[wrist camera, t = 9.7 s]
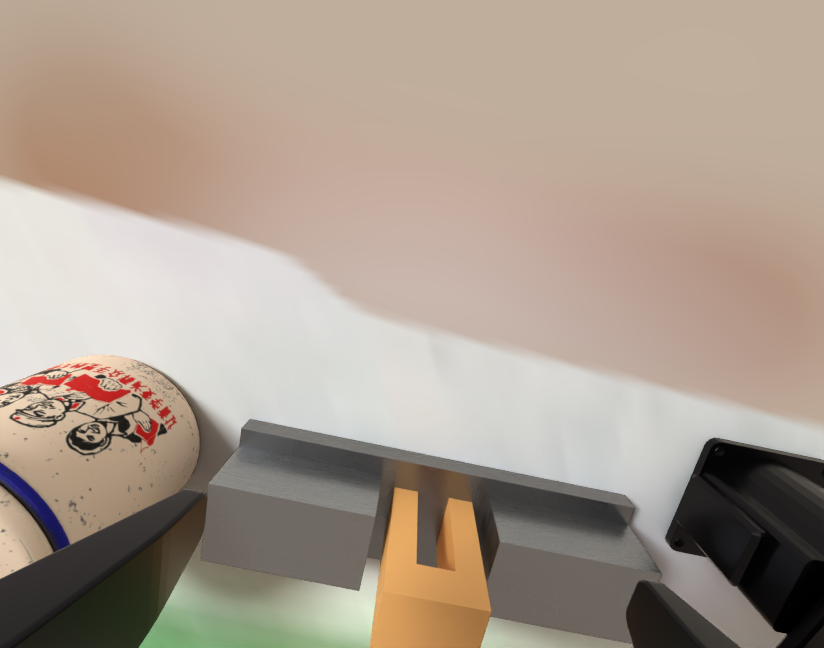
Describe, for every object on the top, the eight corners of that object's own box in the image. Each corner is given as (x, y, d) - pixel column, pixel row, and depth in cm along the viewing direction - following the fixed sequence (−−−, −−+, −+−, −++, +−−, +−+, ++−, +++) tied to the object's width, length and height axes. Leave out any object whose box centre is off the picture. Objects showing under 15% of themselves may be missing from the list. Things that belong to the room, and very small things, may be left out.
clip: (471, 502, 21) (491, 611, 15) (458, 550, 21) (472, 673, 15) (394, 487, 20) (383, 591, 15) (383, 536, 21) (368, 654, 15)
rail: (625, 495, 21) (669, 555, 17) (589, 585, 23) (623, 660, 19) (249, 418, 21) (210, 463, 17) (237, 516, 22) (198, 577, 18)
